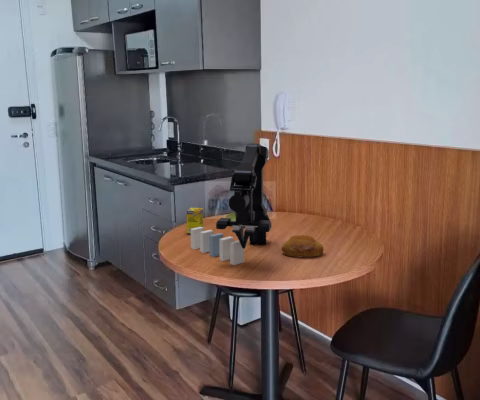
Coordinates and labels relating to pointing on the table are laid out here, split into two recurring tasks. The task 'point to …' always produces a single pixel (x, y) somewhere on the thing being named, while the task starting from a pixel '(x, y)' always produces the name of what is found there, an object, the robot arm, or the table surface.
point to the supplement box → (194, 219)
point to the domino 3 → (215, 244)
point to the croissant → (302, 246)
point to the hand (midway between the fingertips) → (243, 248)
